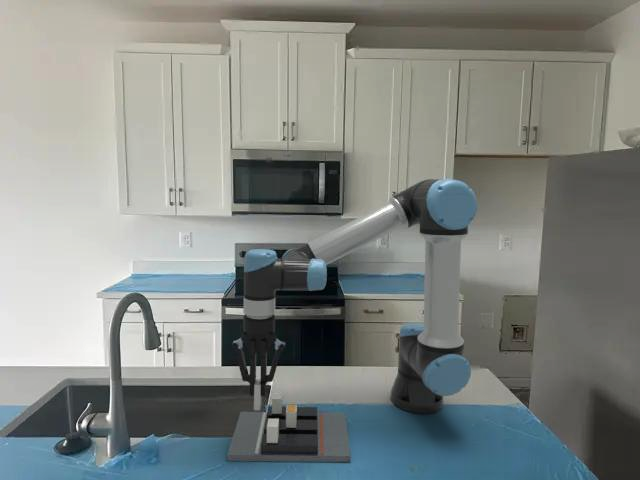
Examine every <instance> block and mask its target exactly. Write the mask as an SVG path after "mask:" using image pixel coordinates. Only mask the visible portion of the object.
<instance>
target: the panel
mask: <svg viewBox="0 0 640 480" xmlns="http://www.w3.org/2000/svg"><path fill="white" fill-rule="evenodd" d="M286 408H287V406H282V414H272V405H271V406H268V408H267V411H240V412H239V415H238V416H239V417H238V420H237V423H236V425H235V426H236V427H235V429H234V433H233V435H232V438H231V442H230V445H229V449H228V451H227V454H226V455H227V458H226V461H227V462H283V463H284V462H287V463H288V462H291V463H292V462H294V463H296V462H299V463H304V462H305V463H306V462H307V463H308V462H309V463H351V459H352V455H351V446H350V439H349V435H348V434H349V433H348V427H347V425H348V424H347V418H346V413H345V412H318V407H317V406H297V422H296V428H286ZM268 418H270V419H279V437H278V443H267V423H268Z"/></svg>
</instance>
